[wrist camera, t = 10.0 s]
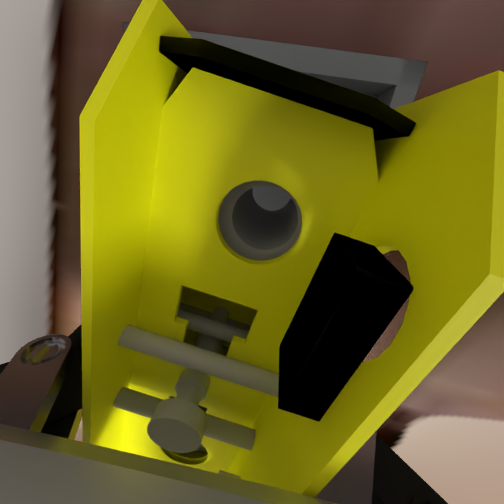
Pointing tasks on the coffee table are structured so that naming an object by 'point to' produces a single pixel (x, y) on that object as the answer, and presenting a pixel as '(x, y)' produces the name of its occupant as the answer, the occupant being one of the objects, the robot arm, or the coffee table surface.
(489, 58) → the coffee table surface
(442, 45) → the coffee table surface
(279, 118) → the yellow toy chassis
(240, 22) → the coffee table surface
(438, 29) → the coffee table surface
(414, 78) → the tray
